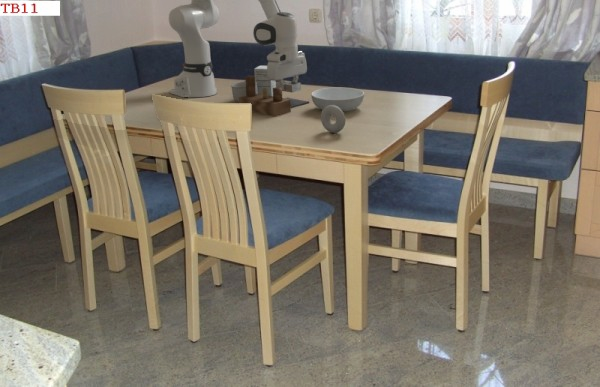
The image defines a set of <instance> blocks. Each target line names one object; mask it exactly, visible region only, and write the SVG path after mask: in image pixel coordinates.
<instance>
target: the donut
mask: <svg viewBox="0 0 600 387" xmlns="http://www.w3.org/2000/svg"><path fill="white" fill-rule="evenodd" d="M344 113H345V112H343V111H342V110H341V109H340V108H339V107H337V106H335V105H329V106H327V107H325V108H324V109H323V110H322V112H321V113H320V121H321V124H322V127H323V128H324V129H325V130H326V131H327V132H330V133H332V134H337V133H340V132H341V131H342V130H343V129H345V128H344V127H345V125H346V116H345V114H344ZM331 116H333V117H334V118H335V123H334V122H332V119H331Z"/></svg>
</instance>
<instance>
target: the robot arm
mask: <svg viewBox="0 0 600 387" xmlns="http://www.w3.org/2000/svg"><path fill="white" fill-rule="evenodd" d="M257 1H258V2H259V3H260V5H261V8H262V11H263V12H264V14H265V17H266V20H262V21H260V22H259V23H257V24H256V25H254V27H253V31H252V32H253V33H252V34H253V38H254V40H255V42H256V43H257V44H259V45H260V46H269V45H275V49H274V50H273V51H272V52H270V53H269V54H268V55H267V56H266V60H267V61H268V62H267V63H266V64H267V65H266V66H267V76H268V79H269V80H273V81H276V83H277V82H278V83H279V85H280V87H281V88H282V90H283V89H285V85H284V84H283V82H282V81H284V79H287V78H291V77H292V78H293V79H292V81H295V82H298V81H299V75H304V74H306V73H307V71H308V66H307V60H306V55H305V54H306V53H305V52H303V50H300V51H298V50H299V49H298V48H299V46H298V42H297V41H298V40H297V38H298V26H297V20H296V17H295V15H294V14H292V13H290V12H285V11H284V12H283V11H281V10H280V7H279V5H278V3H277V2H278V1H277V0H257ZM220 15H221V14H220V10H219V8H218V6H217V5H216V4H215V3H214V0H191V2H190V3H189V4H183V5H179V6H176V7H174V8H173V9H171V10H170V11H169V14H168V22H169V26H170V27H171V28H172V30H174V31H175V32H176V33H177V34H178V35H179V37H180V39H181V42H182V47H183V51H184V63H182V64H181V67H183V68H182V71H181V72H180V74H178V76H176V78H175V79H174V84H173V86H174V87H173V88H172V89H169V94H173V95H175V96H177V97H181V98H184V97H188V98H203V97H210V96H214V95H216V94H217V93H218V92H217V91H218V88H217V87H216V83H215V82H216V81H215V76H214V72H213V71H212V70H213V64H212V63H213V62H212V60H211V48H210V43H209V41H207V40H206V39H204V37H203V35H202V32H201V30H203V29H209V28H210V27H213V26H214V25H216V24H218V22H219V20H220Z"/></svg>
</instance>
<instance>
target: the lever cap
mask: <svg viewBox="0 0 600 387" xmlns="http://www.w3.org/2000/svg"><path fill="white" fill-rule="evenodd" d="M282 82H283V84H284V85H285V89H283V90H282V92H287V93H296V92H299V91H302V83H301V82H298V81H297V82H295V81H293V80H292V81H291V80H283V81H282ZM276 87H280V85H279V83H278V82H277V81H276Z"/></svg>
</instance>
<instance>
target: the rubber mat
mask: <svg viewBox="0 0 600 387" xmlns="http://www.w3.org/2000/svg"><path fill="white" fill-rule="evenodd" d="M285 99H290V103H291V109H293V108H297V107H300V106H304V105H307V104H309V103H310V101H308V100H304V99H297V98H290V97H286V98H285Z"/></svg>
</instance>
